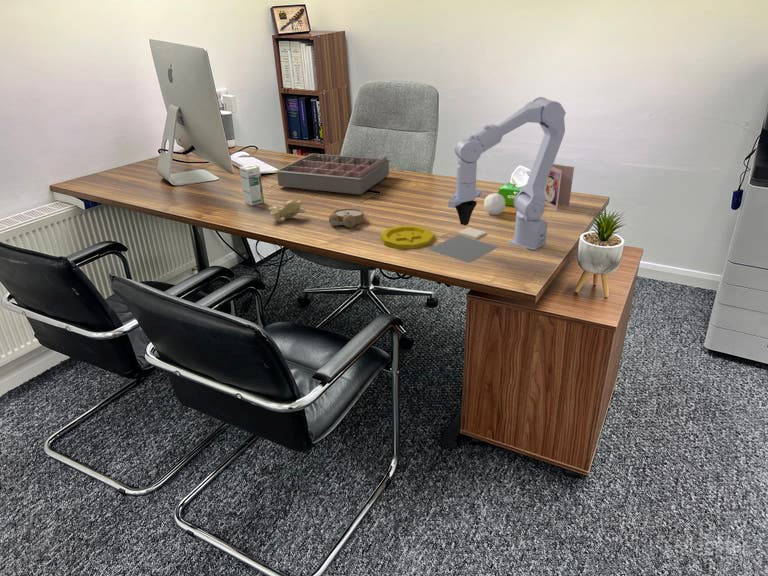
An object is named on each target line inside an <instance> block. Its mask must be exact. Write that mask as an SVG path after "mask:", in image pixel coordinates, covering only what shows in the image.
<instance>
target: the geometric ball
mask: <svg viewBox="0 0 768 576" xmlns="http://www.w3.org/2000/svg"><path fill="white" fill-rule="evenodd" d="M505 208H506V199H505V198H504V196H503V194H499V193H497V192H493V193H490V194H489V195H487V196H486V197H485V199H484V202H483V209H484V210H485V212H486V213H487V214H489V215H491V216H496V215H500V214H502V213H503V212H504V210H505Z"/></svg>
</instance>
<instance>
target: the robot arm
mask: <svg viewBox="0 0 768 576" xmlns="http://www.w3.org/2000/svg"><path fill="white" fill-rule="evenodd" d="M566 114H567V112H566V109H564V107H563V105H562V104H561V102H558V101H556V100H555V101H554V100H551V99H547V98H545V97H542V96H538V97H536V98H534V99H533V100H532V101H529V102H526V104H525V105H524V106H523V107H522V108H520V109H519V110H517V111H516V112H515V113H513V114H512V115H510V116H508V117H507V118H505V119H504V120H502V121H501V122H500V123H498V124H497V125H495V124H489V125H488V124H485V125H483V126H482V129H481V130H480V131H478V132H476V133H475V134H470V135H469V136H468V138H463V139H461V140H459V141H458V142H457V144H456V146H455V148H454V153H455V155H456V157H457V165H456V184H455V185H456V189H455V192H454V193H453V197H452V198H451V199H449V200H447V201H448V202H447V203H448V204H447V207H448V208H452V209H455V210H456V213H457V215H458V218H459V219H458V220H459V223H460V225H463V226H467V225H469V224H470V220H471V217H472V214H473V211H474V210H475V208H476V206H477V205H478V203H477V201H476V200H475V199H477V198H481V197H482V196H483V195H482V194H483V190H482V189H476V188H477V187H476V185H477V169H478V167H477V165H478V160H479V159H480V158H481V155H482V154H483V153H485V152H486V151H488V150H490V149H492V148H493V147H494V146H496V145H498V144H500V143H501V141H502V140H503V137H504V136H505V135H507V134H509V133H510V132H512V131H514V130H516V129H518V128H520V127H522V126H523V125H525V124H527V123H536V124H539V126H540V128H541V129H542V131H543V132H544V133H543V136H542V137H543V138H542V140H541V143H540V144H539V145H540V146H539V148H538V150H537V155H536V157H535V159H534V162H533V165H532V168H531V171H530V172H529V173H530V174H529V177H528V179H527V182H526V184H524V185H523V186H521V188H520V191H519V192H518V194H517V195H516V196H515V197H514V200H513V206H514V208H515V210H516V214H515V225H514V235H513V236H514V237H513V238H512V239H510V240H508V243H509V244H513V245H516V246H519V247H522V248H525V249H528V250H531V251H535V250H537V249H539V248H541V247H542V246H544V245H547V240H546V239H547V233H548V232H547V231H548V222H547V221H546V220H544V219H542V218H541V217H542V216H543V214H544V212H545V204H544V203H545V200H546V196H545V192H544V188H545V185H546V182H547V180H548V177H549V174H550V172H551V169H552V166H553V164H554V163H555V160H556V157H557V155H558V152H559V149H560V146H561V143H562V141H563V138H564V136H565V133H566V125H565V123H566V122H565V116H566Z"/></svg>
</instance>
